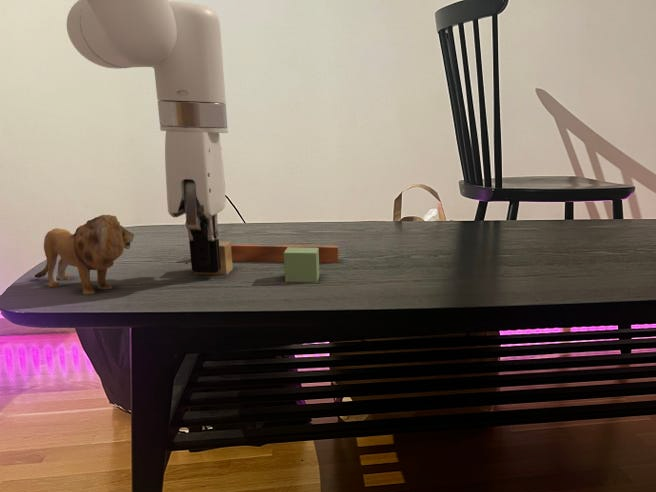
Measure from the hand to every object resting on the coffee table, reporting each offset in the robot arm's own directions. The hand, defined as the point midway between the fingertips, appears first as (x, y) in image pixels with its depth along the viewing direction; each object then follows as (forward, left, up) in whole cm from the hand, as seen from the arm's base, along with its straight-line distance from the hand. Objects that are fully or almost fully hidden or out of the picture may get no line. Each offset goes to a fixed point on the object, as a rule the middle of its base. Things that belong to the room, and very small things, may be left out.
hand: (206, 270), depth 89 cm
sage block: (+12, 0, -1) cm, 12 cm away
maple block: (0, +4, -1) cm, 4 cm away
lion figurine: (-13, -5, -1) cm, 14 cm away
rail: (+6, +12, -1) cm, 14 cm away
